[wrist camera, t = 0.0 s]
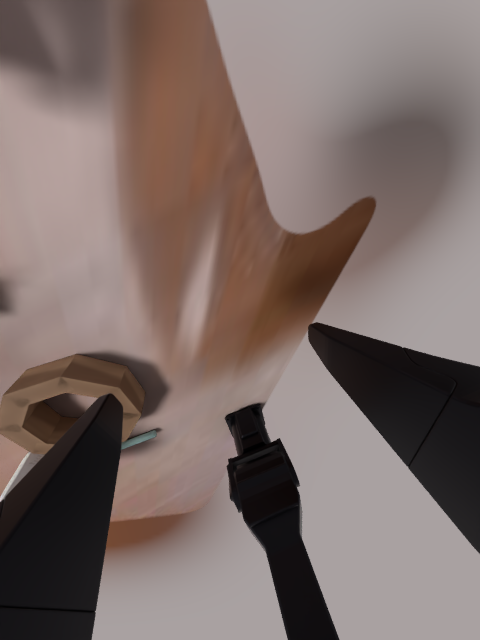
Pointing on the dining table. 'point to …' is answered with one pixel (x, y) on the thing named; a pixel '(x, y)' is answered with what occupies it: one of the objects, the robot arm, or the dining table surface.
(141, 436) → the teal thin rod
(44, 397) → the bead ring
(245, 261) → the dining table surface
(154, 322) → the dining table surface
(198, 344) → the dining table surface
